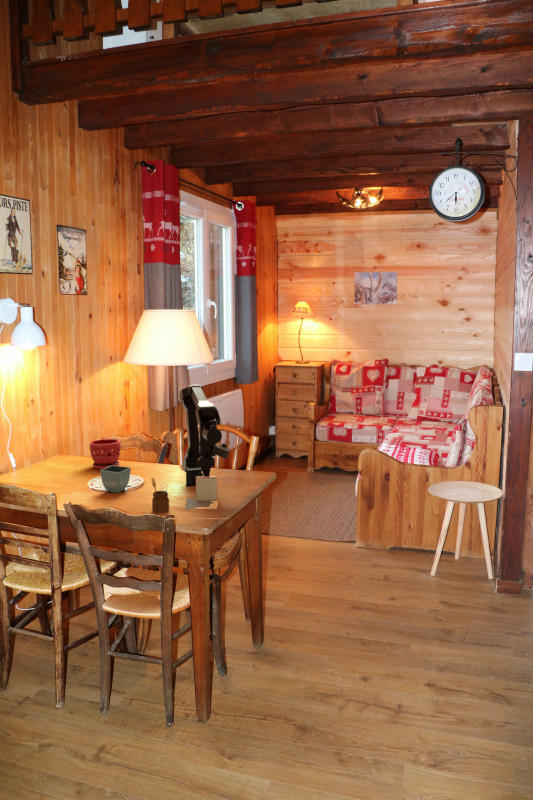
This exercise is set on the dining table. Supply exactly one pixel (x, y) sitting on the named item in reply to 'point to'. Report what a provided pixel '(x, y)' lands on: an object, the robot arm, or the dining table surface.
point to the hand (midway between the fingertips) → (207, 479)
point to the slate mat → (196, 503)
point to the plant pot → (105, 453)
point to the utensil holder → (160, 500)
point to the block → (206, 488)
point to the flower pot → (115, 478)
